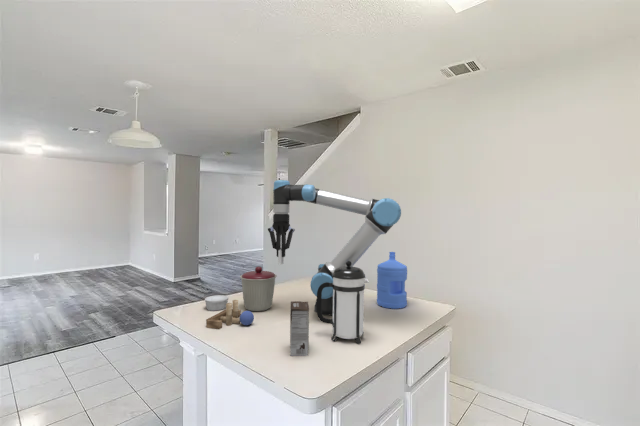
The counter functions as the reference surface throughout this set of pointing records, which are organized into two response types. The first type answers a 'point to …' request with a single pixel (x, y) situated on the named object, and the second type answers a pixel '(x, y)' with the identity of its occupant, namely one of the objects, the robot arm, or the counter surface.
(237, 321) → the pin front
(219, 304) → the ramekin
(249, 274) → the canister
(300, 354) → the coffee box
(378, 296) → the water jug
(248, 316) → the ball
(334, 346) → the counter surface
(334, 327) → the coffee press
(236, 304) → the pin
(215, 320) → the rail
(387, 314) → the counter surface
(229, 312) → the pin
